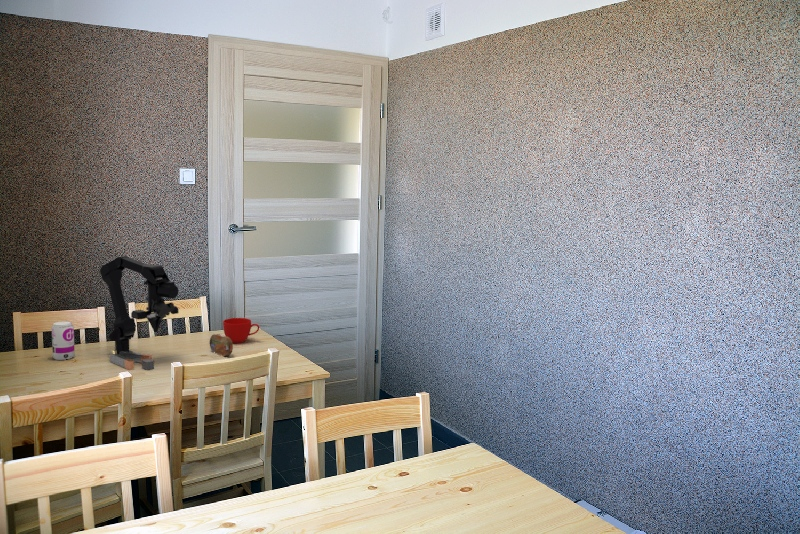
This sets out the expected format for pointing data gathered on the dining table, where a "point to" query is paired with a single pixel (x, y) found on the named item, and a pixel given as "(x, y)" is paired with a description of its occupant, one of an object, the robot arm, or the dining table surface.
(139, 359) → the tongs jaw
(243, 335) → the ceramic cup
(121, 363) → the tongs fixed arm
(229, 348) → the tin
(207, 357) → the dining table surface
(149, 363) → the grey block
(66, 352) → the supplement can
